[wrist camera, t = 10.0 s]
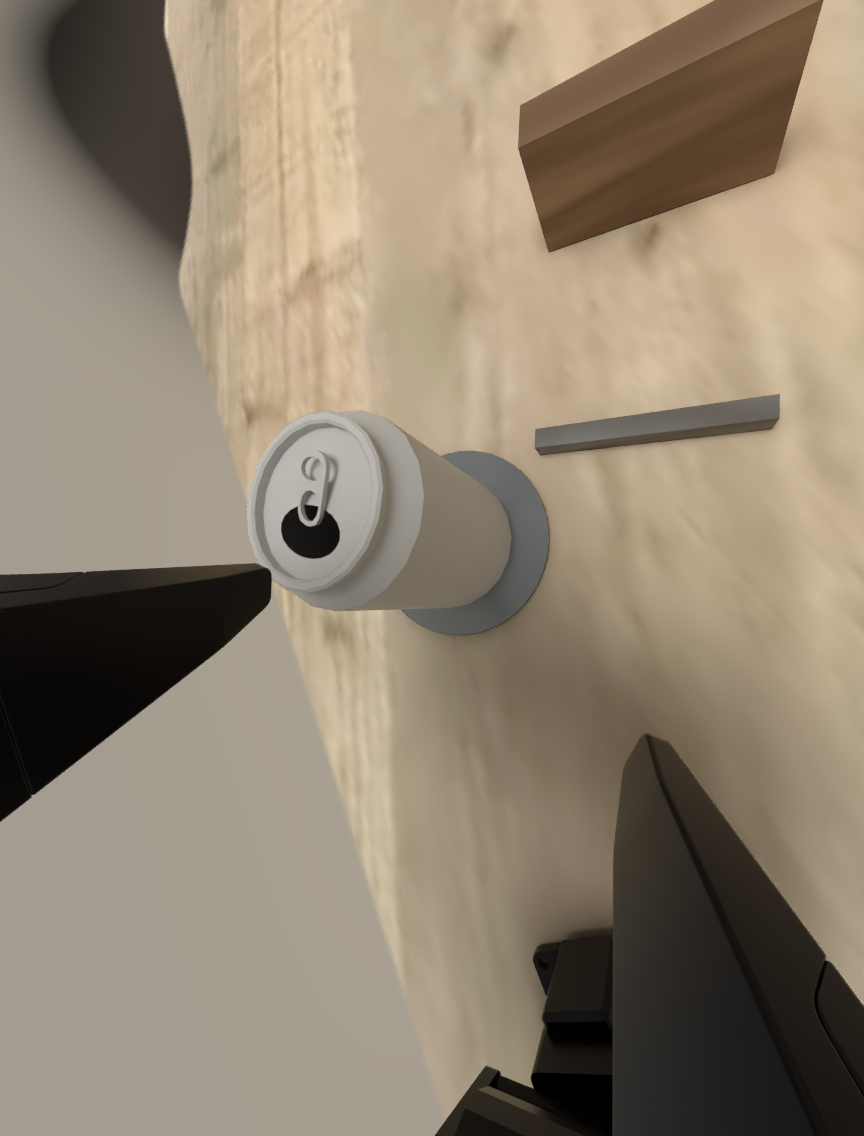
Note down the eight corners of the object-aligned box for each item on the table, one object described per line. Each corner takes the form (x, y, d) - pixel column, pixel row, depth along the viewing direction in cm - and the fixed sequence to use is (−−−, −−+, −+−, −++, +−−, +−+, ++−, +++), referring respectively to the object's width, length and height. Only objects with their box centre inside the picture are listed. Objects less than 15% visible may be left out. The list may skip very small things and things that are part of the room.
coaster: (586, 583, 21) (585, 582, 20) (419, 662, 25) (416, 663, 25) (496, 416, 24) (494, 413, 23) (361, 513, 28) (357, 511, 28)
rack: (771, 428, 17) (823, 354, 12) (540, 455, 22) (506, 409, 17) (774, 131, 18) (824, -59, 13) (550, 218, 23) (520, 105, 18)
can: (389, 587, 26) (211, 577, 15) (419, 474, 26) (256, 384, 15) (495, 624, 22) (357, 644, 12) (532, 493, 22) (422, 393, 11)
